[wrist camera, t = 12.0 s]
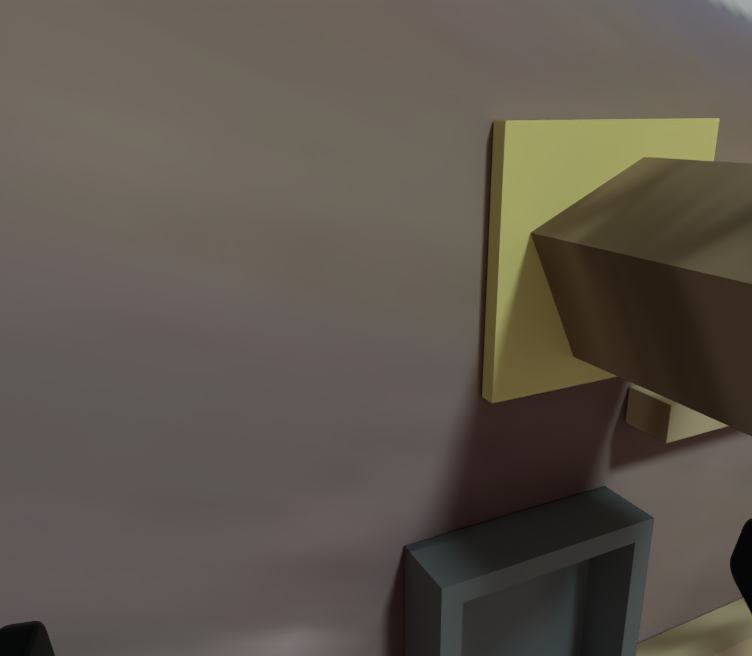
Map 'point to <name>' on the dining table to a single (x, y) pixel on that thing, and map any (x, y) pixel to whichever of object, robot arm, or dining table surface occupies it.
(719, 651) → the brown lane walls
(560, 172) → the pad
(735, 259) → the walnut block
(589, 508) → the charcoal tray
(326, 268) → the dining table surface
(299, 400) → the dining table surface
